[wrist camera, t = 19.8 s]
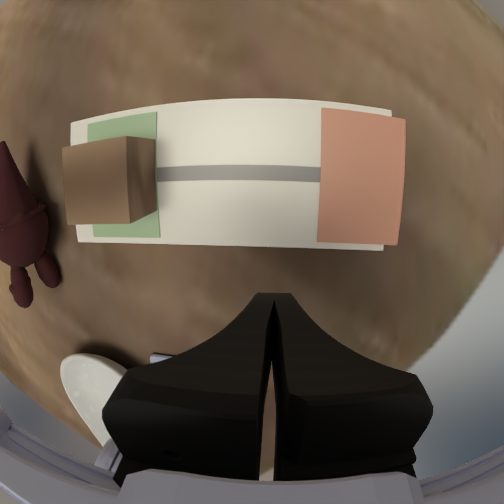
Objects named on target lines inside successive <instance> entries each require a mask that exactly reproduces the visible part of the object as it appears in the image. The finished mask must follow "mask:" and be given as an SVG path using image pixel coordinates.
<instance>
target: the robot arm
mask: <svg viewBox="0 0 504 504" xmlns="http://www.w3.org/2000/svg"><path fill="white" fill-rule="evenodd" d="M271 361H272V368H273V379H274V390H275V402H276V434H275V458H274V477H273V478H274V479H273V481H259V472H260V457H261V442H262V427H263V413H264V404H265V399H266V393H267V387H268V381H269V374H270V368H271ZM150 362H151V364H147V365H143V366H139V367H135V368H130V369H128V370H127V372H126V373H125V374H124V376H123V377H122V378H121V380H120V381H119V383H118V384H117V386H116V388H115V389H114V391H113V393H112V394H111V396H110V397H109V399H108V401H107V402H106V404H105V406H104V407H103V409H102V420H103V422H104V425H105V427H106V429H107V431H108V433H109V435H110V436H111V438H110V439H109V440H108V441H107V442H106V444H105V445H104V447H103V448H102V450H101V452H100V454H99V456H98V458H97V460H96V462H95V465H93V464H90V463H88V462H86V461H83V460H81V459H79V458H76V457H74V456H72V455H70V454H68V453H66V452H63V451H61V450H59V449H57V448H55V447H53V446H52V445H50V444H48V443H46V442H44V441H42V440H40V439H39V438H37V437H35V436H33V435H32V434H30V433H28V432H26V431H25V430H23V429H21V428H20V427H18V426H17V425H15V424H14V423H12V420H11V419H10V417H9V416H8V414H7V413H6V412H5V410H4V409H3V408H2V407H1V406H0V487H1V488H2V489H4V490H5V491H6V492H7V493H9V494H10V495H11V496H12V497H14V498H15V499H16V500H18V501H19V502H20V503H22V504H504V445H503V446H501V447H499V448H498V449H496V450H494V451H492V452H490V453H488V454H486V455H484V456H481V457H479V458H477V459H475V460H473V461H471V462H468V463H466V464H464V465H461V466H459V467H456V468H454V469H451V470H448V471H446V472H443V473H440V474H438V475H434V476H432V477H428V478H425V479H422V480H418V479H417V478H416V475H415V471H414V468H413V465H412V464H413V463H415V461H416V455H415V453H414V450H413V447H414V446H415V444H416V443H417V441H418V440H419V438H420V437H421V435H422V434H423V432H424V431H425V429H426V428H427V426H428V424H429V422H430V420H431V417H432V415H433V405H432V403H431V401H430V399H429V397H428V395H427V393H426V391H425V389H424V387H423V385H422V383H421V382H420V380H419V379H418V377H417V376H416V375H415V374H412V373H408V372H405V371H401V370H398V369H394V368H391V367H388V366H385V365H383V364H380V363H378V362H375V361H373V360H370V359H368V358H366V357H364V356H362V355H360V354H358V353H356V352H354V351H353V350H351V349H349V348H347V347H346V346H344V345H342V344H341V343H339V342H338V341H337V340H335V339H334V338H332V337H331V336H330V335H328V334H327V333H326V332H325V331H323V330H322V329H321V328H320V327H319V326H318V325H317V324H316V323H315V322H314V321H313V320H312V319H311V318H310V317H309V316H308V315H307V313H306V312H305V311H304V310H303V309H302V308H301V306H300V305H299V304H298V302H297V301H296V300H295V298H294V297H293V296H292V294H291V293H257V294H256V295H255V296H254V297H253V298H252V300H251V301H250V302H249V304H248V305H247V306H246V307H245V308H244V310H243V311H242V312H241V313H240V314H239V315H238V316H237V317H236V318H235V319H234V320H233V321H232V322H231V323H230V324H228V325H227V326H226V327H225V328H224V329H223V330H221V331H220V332H219V333H217V334H216V335H215V336H213V337H212V338H210V339H208V340H207V341H205V342H203V343H201V344H199V345H197V346H196V347H194V348H192V349H190V350H188V351H186V352H183V353H181V354H178V355H176V356H173V357H172V356H165V355H158V354H152V355H151V357H150Z"/></svg>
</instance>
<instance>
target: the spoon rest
mask: <svg viewBox="0 0 504 504" xmlns="http://www.w3.org/2000/svg"><path fill="white" fill-rule="evenodd" d="M126 372H127V369H125V368H124V367H123V366H121V365H120V364H118V363H116V362H114V361H112V360H110V359H108V358H106V357H103V356H99V355H95V354H87V353H76V354H71V355H69V356H67V357H66V358H65V359H64V360H63V361H62V363H61V368H60V373H61V379H62V383H63V386H64V388H65V391H66V393H67V395H68V397H69V399H70V400H71V402H72V404H73V405H74V407H75V408H76V410H77V411H78V413H79V414H80V416H81V417H82V419H83V420H84V421H85V423H86V424H87V426H88V427H89V428H90V430H91V431H92V433H93V434H94V435H95V437H96V438H97V439H98V441H99V442H100V443H101V445H102V446H103V447H104V445H105V444H106V442H107V441H108V440H109V439H110V438H111V436H110V435H109V433H108V431H107V429H106V427H105V425H104V422H103V420H102V409H103V407H104V406H105V404H106V402H107V401H108V399H109V397H110V396H111V394H112V393H113V391H114V389H115V388H116V386H117V384H118V383H119V381H120V380H121V378H122V377H123V376H124V374H125V373H126Z"/></svg>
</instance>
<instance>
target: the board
mask: <svg viewBox="0 0 504 504" xmlns="http://www.w3.org/2000/svg"><path fill="white" fill-rule="evenodd" d="M122 136H132V137H141V138H149V139H154V149H155V189H156V209H157V211H155V212H153V213H151V214H149V215H147V216H145V217H143V218H141V219H139V220H137V221H135V222H133V223H131V224H85V225H76V230H77V238H78V242H103V243H146V244H186V245H223V246H257V247H289V248H320V249H349V250H377V251H383V247H384V245H397V242H398V235H399V227H400V219H401V209H402V199H403V186H404V170H405V119H401V118H396V117H392V114H391V110H386V109H380V108H374V107H368V106H361V105H354V104H346V103H337V102H327V101H315V100H300V99H273V98H245V99H218V100H202V101H190V102H180V103H171V104H163V105H156V106H149V107H143V108H136V109H131V110H125V111H120V112H115V113H110V114H105V115H101V116H96V117H92V118H88V119H84V120H80V121H76V122H73V123H71V146H73V145H78V144H83V143H88V142H93V141H98V140H104V139H110V138H116V137H122Z"/></svg>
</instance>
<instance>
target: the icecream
mask: <svg viewBox="0 0 504 504" xmlns="http://www.w3.org/2000/svg"><path fill="white" fill-rule="evenodd" d="M47 206H48V205H47V204H43V203H41V202H39V203H37V202H36V200H35V198H34V197H33V195H32V193H31V192H30V190H29V188H28V186H27V184H26V183H25V181H24V179H23V177H22V175H21V173H20V172H19V170H18V168H17V166H16V164H15V162H14V160H13V158H12V155H11V153H10V151H9V149H8V147H7V145H6V143H5V141H2V142H0V260H1V261H2V262H4V263H6V264H8V265H10V266H11V283H12V284H11V285H10V286H9V290H10V292H11V293H12V294H13V297H14V300H15V302H16V303H17V304H18V305H19V306H20V307H23V308H28V307H29V306H30V305H31V303H32V301H33V288H32V286H31V279H30V277H29V276H28V273H27V270H26V269H25V267H27V266H29V265H31V264H33V263H34V265H35V268H36V270H37V273H38V275H39V278H40V279H41V280H42V281H43V282H44V284H45V285H46V286H48V287H50V288H55V287H57V286H58V284H59V280H60V277H59V273H58V270H57V266H56V265H55V263H54V262H53V260H52V259H51V257H50V256H49V255H48V254H47V253H46V252H45V251H44V249H45V246H46V243H47V240H48V233H49V223H48V216H47V214H46V213H45V210H46V208H47Z"/></svg>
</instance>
